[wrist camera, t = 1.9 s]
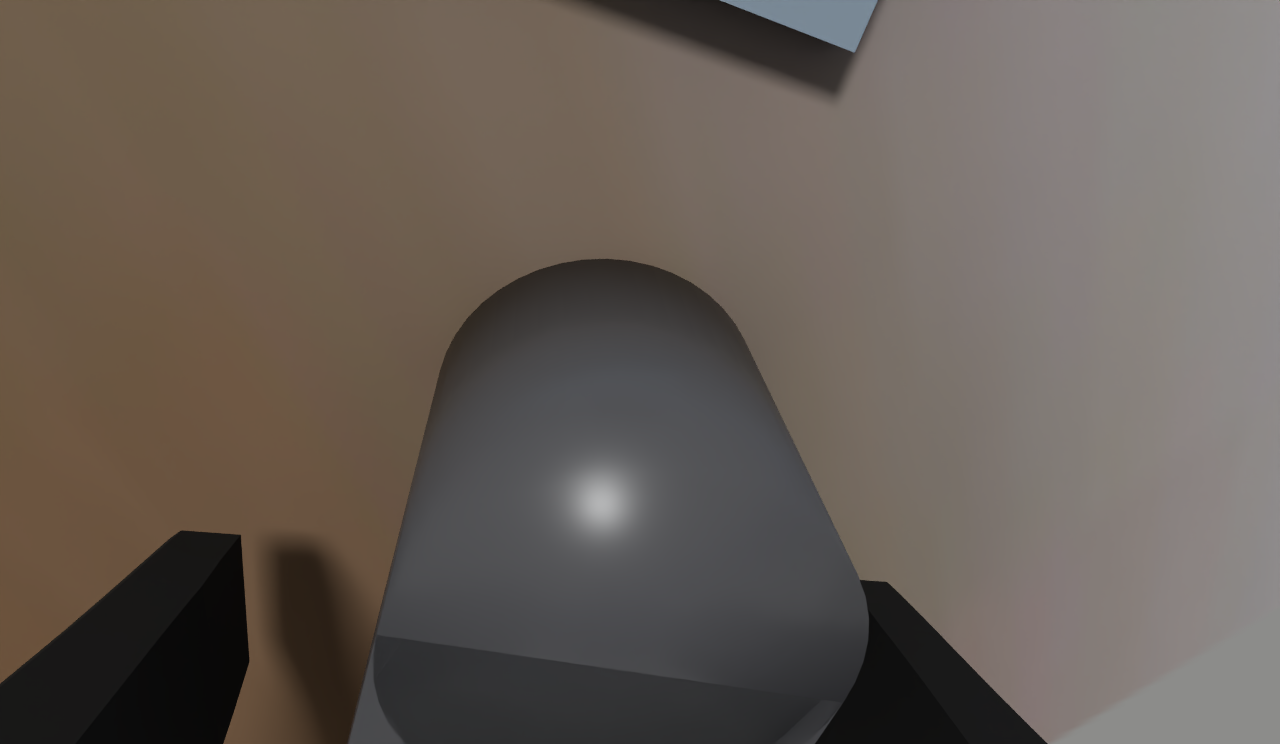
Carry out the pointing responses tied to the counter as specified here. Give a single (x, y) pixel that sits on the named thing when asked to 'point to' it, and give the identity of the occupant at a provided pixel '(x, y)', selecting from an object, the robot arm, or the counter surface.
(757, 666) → the connector
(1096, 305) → the counter surface
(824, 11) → the rubber mat
